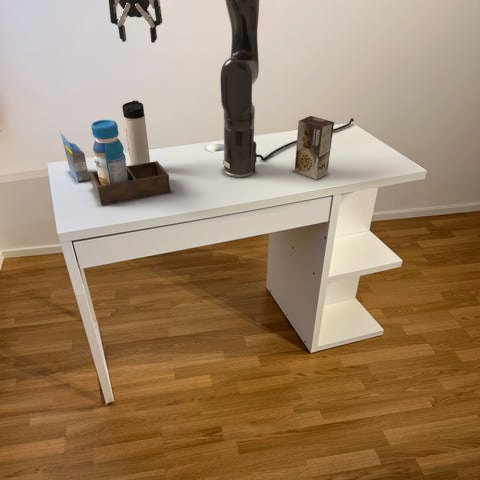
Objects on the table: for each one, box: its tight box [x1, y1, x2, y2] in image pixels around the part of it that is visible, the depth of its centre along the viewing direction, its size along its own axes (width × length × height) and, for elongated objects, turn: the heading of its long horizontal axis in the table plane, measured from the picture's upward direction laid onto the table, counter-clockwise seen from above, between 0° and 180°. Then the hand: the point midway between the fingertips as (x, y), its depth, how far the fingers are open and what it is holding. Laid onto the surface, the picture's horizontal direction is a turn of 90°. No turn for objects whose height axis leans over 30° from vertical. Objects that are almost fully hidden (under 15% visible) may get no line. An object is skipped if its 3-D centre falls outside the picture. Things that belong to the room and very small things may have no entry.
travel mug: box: [121, 100, 151, 166], centre depth 141 cm, size 6×7×20 cm
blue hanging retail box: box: [60, 133, 90, 183], centre depth 140 cm, size 9×4×12 cm, turn 32°
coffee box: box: [294, 115, 335, 180], centre depth 143 cm, size 9×6×16 cm
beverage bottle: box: [91, 119, 128, 186], centre depth 128 cm, size 8×8×20 cm
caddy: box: [89, 160, 171, 206], centre depth 134 cm, size 20×11×6 cm, turn 115°
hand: (138, 41), depth 133 cm, fingers open, 8 cm apart
